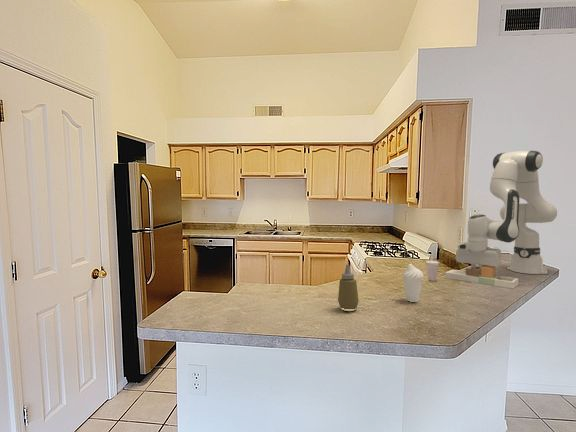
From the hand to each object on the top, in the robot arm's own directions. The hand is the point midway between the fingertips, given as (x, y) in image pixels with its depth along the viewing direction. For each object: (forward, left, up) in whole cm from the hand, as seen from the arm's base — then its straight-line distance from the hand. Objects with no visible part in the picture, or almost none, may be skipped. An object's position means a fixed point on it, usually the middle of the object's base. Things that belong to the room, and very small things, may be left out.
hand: (477, 272), depth 162 cm
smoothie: (+14, -17, -4) cm, 22 cm away
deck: (0, +1, -4) cm, 4 cm away
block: (0, +5, -1) cm, 5 cm away
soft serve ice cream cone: (+54, -8, -4) cm, 55 cm away
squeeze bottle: (+81, -21, -4) cm, 84 cm away
